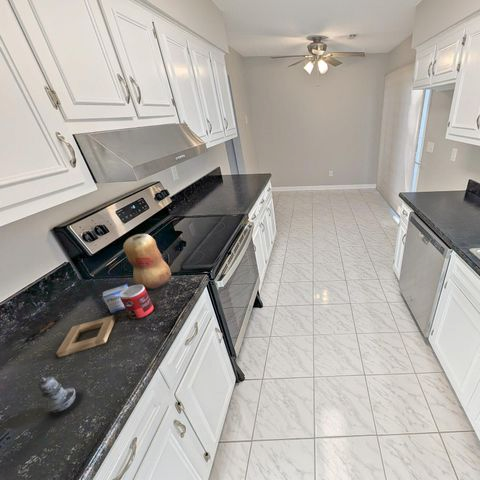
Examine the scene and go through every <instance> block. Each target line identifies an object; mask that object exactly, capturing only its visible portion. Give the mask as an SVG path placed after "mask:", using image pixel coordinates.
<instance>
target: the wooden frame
mask: <svg viewBox="0 0 480 480" xmlns="http://www.w3.org/2000/svg"><path fill="white" fill-rule="evenodd" d="M116 320H117V318H116V316H115V315H114V314H113V315H110V316H105V317H102V318H99V319H95V320H92V321H88V322H84V323H81V324H77V325H73V326H72V327H71V328H70V330H69V332H68V333H67V335H66V336H65V338H64V340H63V341H62V342H61V344H60V346H59V348H58V349H57V351H56V352H55V355H57V357H58V358H61V357H65V356H68V355H71V354H73V353H77V352H80V351H81V352H82V351H84V350H88V349H91V348H94V347H97V346H101V345H103V344H106V343H107V341H108V338H109V336H110V334H111V332H112V330H113V327H114V325H115V322H116ZM99 328H100V329H99ZM96 329H99V331H98V333H97V335H96V336H94V337H91V338H87V339H84V340H81V341H78V339H79V337H80V335H81V333H84V332H87V331H91V330H96Z"/></svg>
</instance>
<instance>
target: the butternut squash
mask: <svg viewBox="0 0 480 480" xmlns="http://www.w3.org/2000/svg"><path fill="white" fill-rule="evenodd" d="M122 247H123V248H122V249H123V251H124V254H125V256H126V259H127V260H128V262H129V264H130V265H131V266H132V268H133V274H132V275H133V276H132V278H133V281H134V283H135V285H143V286H144V287H145V289H146V290H155V289H158V288H161V287H162V286H163V285H165V284H166V283H167V282H169V281H170V278H171V277H172V273H171V268H170V266H169V265H168V264H167V262H166V261H165V260H164V258H163V256H162V253H161V252H160V250H159V248H158V246H157V241H156V239H154V238H153V237H152V236H151V235H149V234H147V233H137V234H134V235H132V236H130V237H128V238H127V239H125V242H124V243H123V246H122Z"/></svg>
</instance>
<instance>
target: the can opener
mask: <svg viewBox="0 0 480 480" xmlns="http://www.w3.org/2000/svg"><path fill="white" fill-rule="evenodd" d="M55 323H56V322H55V321H51V322H50V323H48V324H47V325H46V326H45V327H43V328H42V329H41V330H40V331H39V332H38V333H37V334H36V335H34V336H33V337H30V338H29V341H32V339H34V338H38V337H39V336H40V335H41V334H42V333H44V332H45V331H46V330H47V329H49V328H50V327H52V326H53V325H54V324H55Z"/></svg>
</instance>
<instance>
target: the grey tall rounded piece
mask: <svg viewBox="0 0 480 480" xmlns="http://www.w3.org/2000/svg"><path fill="white" fill-rule="evenodd" d="M37 388H39V390H40V391H41V392H42V397H43V398H46V399H47V401H46V403H45V405H44V410H45V411H46V412H51V413H59V412H62V411H64V410H67V409H68V408H70V407H71V405H72V404H73V403H74V401H75V399H76V390H75V388H73V387H68V388H64V387H63V384H62V383H61V382H58V381H57V380H56V379H55V377H54V376H48V377H41V378H40V382H39V383H38V385H37Z"/></svg>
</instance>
